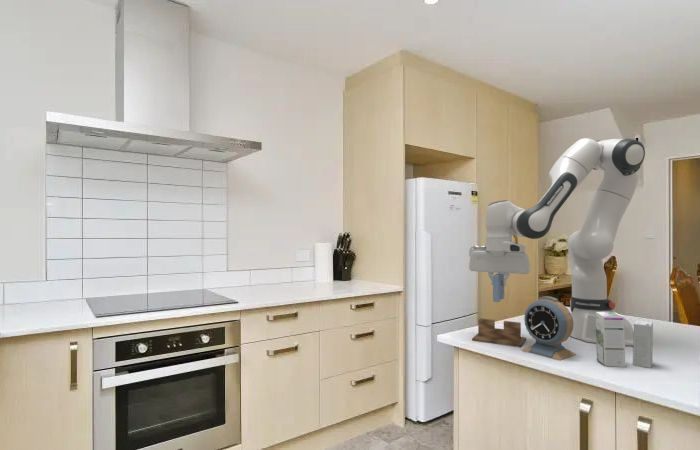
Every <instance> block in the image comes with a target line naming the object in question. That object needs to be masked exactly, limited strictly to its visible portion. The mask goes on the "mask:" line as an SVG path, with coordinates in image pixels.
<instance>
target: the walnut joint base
mask: <svg viewBox="0 0 700 450" xmlns="http://www.w3.org/2000/svg"><path fill="white" fill-rule="evenodd" d="M477 320H478V321H477V322H478V323H477V327H478V328H477V329H478V330H477V331H478V333H477V334H475V335H474V336H473V337H472V338H471V341H474V342H479V343H486V344H495V345H502V346H509V347H518V348H521V347H522V346H523V345H524V344H525V343H526V341H527V337H524V336H522V323H521V322H519V321H518V322H516V321H509V320H504V321H503V328H497V327H496V326H495V325H496V321H495V319H489V318H481V317H478V319H477Z"/></svg>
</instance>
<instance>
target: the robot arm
mask: <svg viewBox="0 0 700 450" xmlns="http://www.w3.org/2000/svg"><path fill="white" fill-rule="evenodd" d="M645 149H646V148H645V146H644V144H643V143H642V142H641V141H640V140H637V139H633V138H610V139H602V140H594V139H592V138H590V137H583V138H580V139H578V140H577V141H576V142H574V143H573V144H571V145H570V147H568V148H567V149H566V150H565V151H564V152H563V153H562V154H561V155H560V156H559V158H558V159H557V160H556V161H555V163H554V164H553V165H552V166H551V169H550V170H549V172H548V177H549V181H550V182H551V185H550V187H549V188H548V190H547V191H546V192H545V194H544V195H543V196H542V197H541V198H540V200H539V201H538V202H537V203H536V204H535V205H534V206H533V207H531V208H527V209H525V208H522V207H520V206H517V205H515V204H514V203H513V202H511V201H510V200H507V199H504V200H498V201H493V202H490V203H489V204H488V205H487V207H486V210H485V228H486V234H485V245H473V246H472V247H470V248H469V249H468V250H469V251H468V256H469V263H468V265H469V267H468V268H469V271H471V272H478V273H479V272H480V273H487V276H488V277H489V280H490V282H491V284H490V285H491V286H493V275H494V273H496V274H498V273H504V280H502V281H501V286H504V287H506V286H507V280H508V279H509V278H510V276H511V275H510V274H517V275H518V274H520V275H528V274H529V273H530V272H531V264H530V258H529V255H528V253H526V251H527V247H526V245H524V244H521V243H518V242H514V241H513V236H517V237H521V238H528V239H533V240H537V239H540V238H543V237H544V236H546V235H548V233H549V231H550V229H551V227H552V224H553V221H554V217H555V215H556V214H557V213H558V211H559V210H560V209H561V207H563V206H564V204H565V203H566V201H567V200H568V199H569V197H570V196H571V194H572V193H573V192H574V191H575V190H576V189H577V188H578V187H579V186H580V184H581V183H582V182H583V181H584V180H586V178H588V176H589V174H590V173H591V172H592V170H596V171H597V170H599V171H603V178H602V181H601V182H600V183H599V186H598V187H597V190H596V192H595V193H594V196H593V197H592V200H591V201H590V203H589V205H588V207H587V210H586V216H585V218H584V222H583V223H582V224H583V225H582V227H581V229H579V230H575V231H574V232H573V233H571V234H570V235H569V237H568V239H567V242H566V243H567V244H566V245H567V251H568V252H567V253H568V261H569V266H570V272H571V296H570V300H569V303H570V304H569V305H570V307H569V308H570V313H571V315H572V318H573V324H574V325H573V330H572V333H571V335H570V337H571V338H575V339H578V340H582V341H583V342H586V343H594V344H597V342H596V312H615V313H618V312H617V311H616V310H614V309H615V308H616V303H615V302H614V301H612V300H611V299H609V298H608V289H607V288H608V287H607V286H608V284H607V283H608V281H607V280H608V278H607V274H606V271H605V268H604V262H603V259H606V258H608V257H609V256H610V255H611V253H612V252H613V249H614V242H615V239H616V238H617V237H616V236H617V233H618V230H619V226H620V224H621V220H622V218H623V217H624V215H625V212H626V210H627V208H628V206H629V204H630V203H631V201H632V199H633V197H634V195H635V191H636V189H637V185H638V181H639V173H638V171H639V169H640V168H641V166H642V164H643V162H644V159H645V156H646V151H645ZM624 329H625V346H632V347H633V334H634V327H633V325H632V324H631V322H630V321H629V320H628V319H626V318H625V317H624Z"/></svg>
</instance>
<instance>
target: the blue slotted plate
mask: <svg viewBox="0 0 700 450" xmlns="http://www.w3.org/2000/svg"><path fill="white" fill-rule="evenodd" d="M492 276H493V285H492V302H493V303H500V302H501V300H504V299H505V286H501V281H502V280H504V279H505V276H504V273H496V274H493V275H492Z"/></svg>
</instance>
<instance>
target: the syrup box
mask: <svg viewBox="0 0 700 450" xmlns="http://www.w3.org/2000/svg"><path fill="white" fill-rule="evenodd" d="M615 312H616V311H615ZM615 312H596V342H597V343H596V360H597V361H598V363H600V364H602V365H603V366H605V367H612V368H613V367H615V368H626V365H627V364H626V345H625V329H624V318H625V315H622V314H619V313H618V312H617V313H615Z"/></svg>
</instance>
